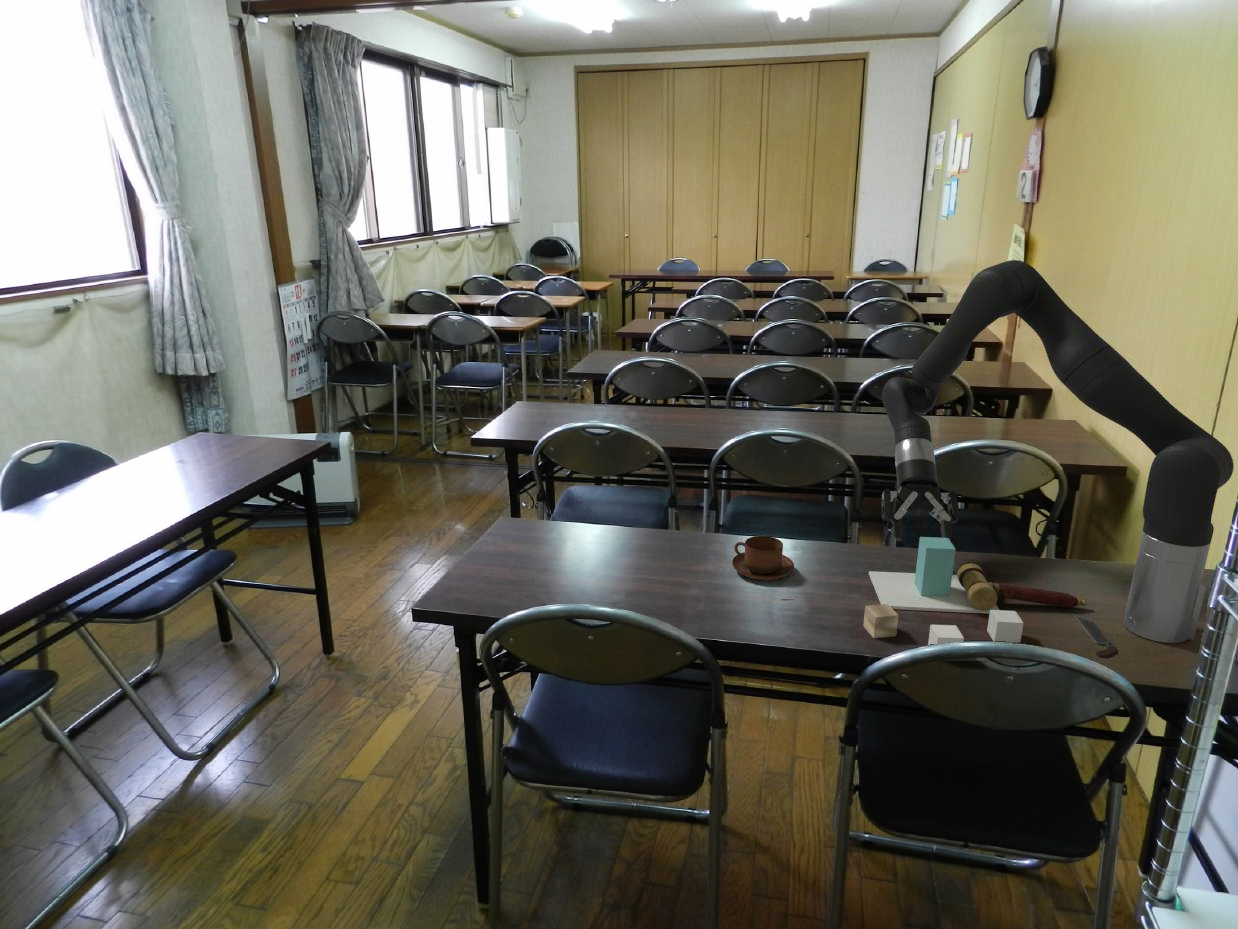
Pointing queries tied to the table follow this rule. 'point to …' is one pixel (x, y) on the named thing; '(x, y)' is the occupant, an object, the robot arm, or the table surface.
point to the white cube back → (944, 634)
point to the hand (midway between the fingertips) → (923, 541)
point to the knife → (1097, 637)
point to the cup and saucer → (762, 559)
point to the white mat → (906, 596)
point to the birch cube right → (880, 620)
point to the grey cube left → (1005, 626)
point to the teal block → (934, 566)
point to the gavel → (1007, 591)
